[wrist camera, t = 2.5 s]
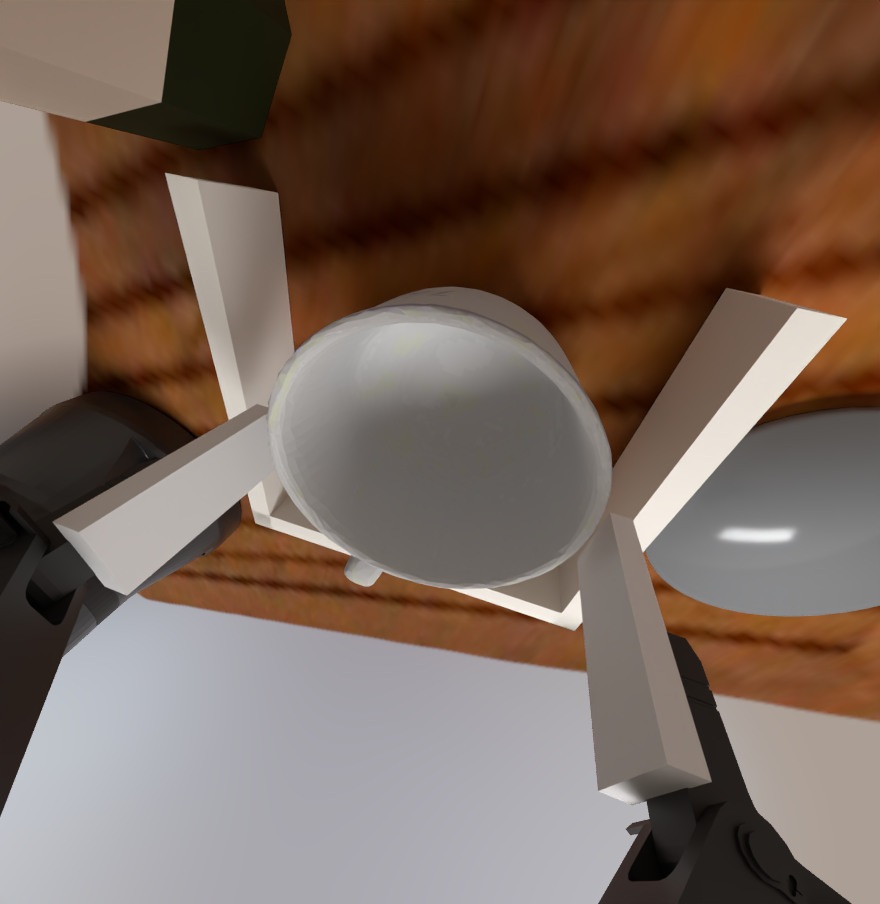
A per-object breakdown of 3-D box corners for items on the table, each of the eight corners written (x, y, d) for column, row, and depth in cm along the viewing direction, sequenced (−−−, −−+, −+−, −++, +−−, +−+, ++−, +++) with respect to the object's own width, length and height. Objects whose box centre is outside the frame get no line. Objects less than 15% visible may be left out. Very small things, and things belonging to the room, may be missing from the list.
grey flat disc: (600, 563, 20) (601, 570, 20) (749, 370, 13) (757, 375, 12) (821, 632, 19) (829, 642, 19) (1136, 461, 11) (1161, 471, 11)
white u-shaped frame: (293, 484, 24) (255, 523, 21) (252, 187, 14) (164, 172, 10) (569, 571, 22) (574, 630, 18) (761, 295, 12) (847, 318, 8)
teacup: (456, 207, 12) (367, 177, 6) (635, 395, 14) (712, 522, 8) (314, 425, 20) (210, 514, 14) (443, 526, 22) (405, 644, 16)
